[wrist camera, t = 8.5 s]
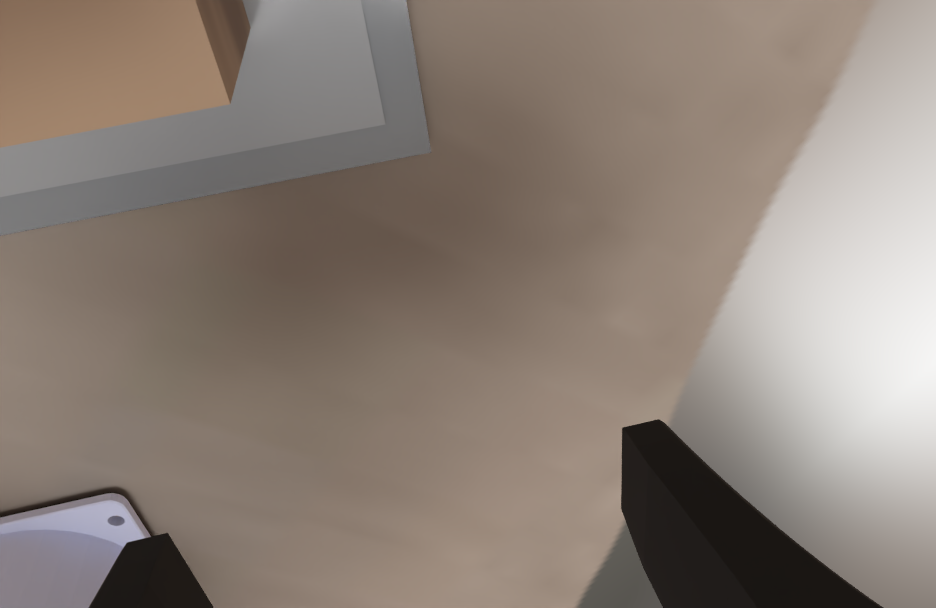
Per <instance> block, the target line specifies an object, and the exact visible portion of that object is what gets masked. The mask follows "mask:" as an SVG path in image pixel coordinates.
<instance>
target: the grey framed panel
mask: <svg viewBox="0 0 936 608" xmlns="http://www.w3.org/2000/svg"><path fill="white" fill-rule="evenodd" d="M242 1H243V4H244V7H245V11H246V14H247V17H248V21H249V24H250V27H251V29H250V33H249V37H248V40H247V44H246V48H245V51H244V55H243V59H242V63H241V66H240V70H239V74H238V78H237V81H236V85H235V89H234V92H233V96H232V100H231V104H229V105H223V106H218V107H213V108H208V109H202V110H197V111H192V112H186V113H181V114H176V115H171V116H165V117H160V118H155V119H149V120H144V121H139V122H134V123H128V124H123V125H118V126H112V127H107V128H102V129H97V130H91V131H86V132H81V133H75V134H70V135H65V136H59V137H54V138H49V139H44V140H38V141H33V142H28V143H22V144H17V145H12V146H7V147H1V148H0V236H1V235H7V234H12V233H17V232H22V231H27V230H32V229H38V228H43V227H48V226H53V225H58V224H63V223H69V222H74V221H79V220H84V219H89V218H95V217H100V216H105V215H110V214H115V213H120V212H126V211H131V210H136V209H141V208H146V207H151V206H157V205H162V204H167V203H172V202H177V201H182V200H188V199H193V198H198V197H203V196H208V195H214V194H219V193H224V192H229V191H234V190H239V189H245V188H250V187H255V186H260V185H265V184H270V183H276V182H281V181H286V180H291V179H296V178H301V177H307V176H312V175H317V174H322V173H327V172H333V171H338V170H343V169H348V168H353V167H358V166H364V165H369V164H374V163H379V162H384V161H389V160H395V159H400V158H405V157H410V156H415V155H420V154H426V153H431V148H430V142H429V136H428V129H427V123H426V117H425V111H424V105H423V99H422V93H421V87H420V81H419V75H418V68H417V62H416V56H415V50H414V44H413V38H412V32H411V26H410V20H409V13H408V7H407V1H406V0H242Z"/></svg>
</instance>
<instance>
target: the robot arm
mask: <svg viewBox="0 0 936 608" xmlns="http://www.w3.org/2000/svg"><path fill="white" fill-rule="evenodd" d="M621 509H622V512H623V515H624V517H625V520H626V523H627V526H628V528H629V531H630V534H631V536H632V539H633V542H634V545H635V547H636V550H637V552H638V555H639V558H640V560H641V563H642V565H643V568H644V570H645V572H646V574H647V576H648V578H649V580H650V582H651V584H652V586H653V588H654V590H655V592H656V594H657V596H658V598H659V600H660V602H661V604H662V606H663V608H883V607H882V606H880V605H879V604H877V603H876V602H874V601H873V600H871V599H870V598H869V597H867V596H866V595H864V594H863V593H862V592H860V591H859V590H858V589H856V588H855V587H853V586H852V585H851V584H849V583H848V582H847V581H845V580H844V579H843V578H841V577H840V576H839V575H837V574H836V573H835V572H833V571H832V570H831V569H829V568H828V567H827V566H826V565H824V564H823V563H822V562H820V561H819V560H818V559H817V558H815V557H814V556H813V555H811V554H810V553H809V552H808V551H806V550H805V549H804V548H803V547H801V546H800V545H799V544H797V543H796V542H795V541H794V540H793V539H791V538H790V537H789V536H788V535H787V534H785V533H784V532H783V531H782V530H780V529H779V528H778V527H777V526H776V525H774V524H773V523H772V522H771V521H770V520H769V519H767V518H766V517H765V516H764V515H763V514H762V513H761V512H759V511H758V510H757V509H756V508H755V507H753V506H752V505H751V504H750V503H749V502H748V501H747V500H745V499H744V498H743V497H742V496H741V495H740V494H739V493H738V492H736V491H735V490H734V489H733V488H732V487H731V486H730V485H729V484H728V483H726V482H725V481H724V480H723V479H722V478H721V477H720V476H719V475H718V474H717V473H716V472H715V471H713V470H712V469H711V468H710V467H709V466H708V465H707V464H706V463H705V462H704V461H703V460H702V459H701V458H700V457H699V456H698V455H697V454H696V453H694V452H693V451H692V450H691V449H690V448H689V447H688V446H687V445H686V444H685V443H684V442H683V441H682V440H681V439H680V438H679V437H678V436H677V435H676V434H675V433H674V432H673V431H672V430H671V429H670V428H669V427H668V426H667V425H666V424H665V423H664V422H662V421H661V420H659V419H658V420H654V421H650V422H645V423H641V424H637V425H632V426H628V427H624V428H622V495H621ZM117 516H118V517H117ZM0 608H213V606H212V604H211V603H210V601H209V599H208V598H207V596H206V594H205V593H204V591H203V590H202V588H201V586H200V585H199V583H198V581H197V580H196V578H195V577H194V575H193V573H192V572H191V570H190V568H189V567H188V565H187V564H186V562H185V560H184V559H183V557H182V555H181V554H180V552H179V551H178V549H177V547H176V546H175V544H174V542H173V541H172V539H171V538H170V536H169V534H168V533H165V534H161V535H157V536H152V537H151V536H150V534H149V533H148V531H147V530H146V528H145V527H144V525H143V524H142V522H141V520H140V519H139V517H138V516H137V514H136V513H135V511H134V509H133V508H132V506H131V505H130V503H129V502H128V500H127V499H126V498H125V497H124V496H122V495H120V494H116V493H107V494H103V495H98V496H94V497H89V498H85V499H80V500H76V501H72V502H67V503H63V504H58V505H54V506H49V507H45V508H41V509H36V510H32V511H27V512H23V513H18V514H14V515H9V516H5V517H1V518H0Z"/></svg>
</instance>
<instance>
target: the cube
mask: <svg viewBox="0 0 936 608" xmlns="http://www.w3.org/2000/svg"><path fill="white" fill-rule="evenodd" d="M250 29H251V27H250V24H249V21H248V17H247V14H246V11H245V7H244V4H243V1H242V0H0V148H1V147H7V146H12V145H17V144H22V143H28V142H33V141H38V140H44V139H49V138H54V137H59V136H65V135H70V134H75V133H81V132H86V131H91V130H97V129H102V128H107V127H112V126H118V125H123V124H128V123H134V122H139V121H144V120H149V119H155V118H160V117H165V116H171V115H176V114H181V113H186V112H192V111H197V110H202V109H208V108H213V107H218V106H223V105H229V104H231V100H232V96H233V92H234V89H235V85H236V81H237V78H238V74H239V70H240V66H241V63H242V59H243V55H244V51H245V48H246V44H247V40H248V37H249V33H250Z"/></svg>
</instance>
